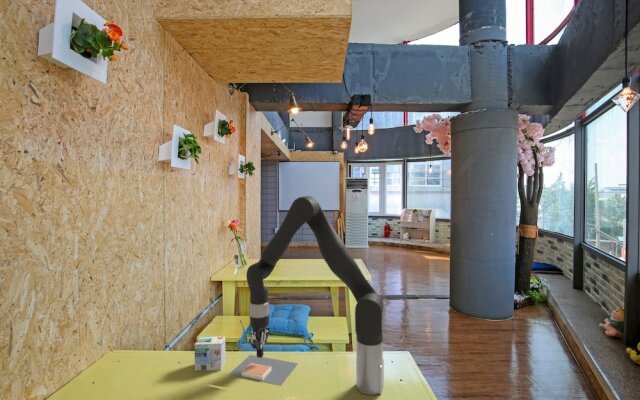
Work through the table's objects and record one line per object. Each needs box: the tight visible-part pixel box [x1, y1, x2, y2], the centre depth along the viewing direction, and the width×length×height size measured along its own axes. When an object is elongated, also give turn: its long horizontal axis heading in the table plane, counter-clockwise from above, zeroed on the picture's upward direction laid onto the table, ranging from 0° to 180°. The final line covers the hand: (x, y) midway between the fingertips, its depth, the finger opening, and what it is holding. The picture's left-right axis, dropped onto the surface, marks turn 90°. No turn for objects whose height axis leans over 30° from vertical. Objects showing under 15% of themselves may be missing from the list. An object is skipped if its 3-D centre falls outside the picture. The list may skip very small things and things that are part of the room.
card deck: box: [241, 363, 272, 380], centre depth 128 cm, size 9×2×7 cm
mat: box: [228, 354, 299, 387], centre depth 131 cm, size 22×16×1 cm
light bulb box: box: [194, 336, 226, 372], centre depth 134 cm, size 11×7×11 cm, turn 93°
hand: (260, 356), depth 132 cm, fingers closed
